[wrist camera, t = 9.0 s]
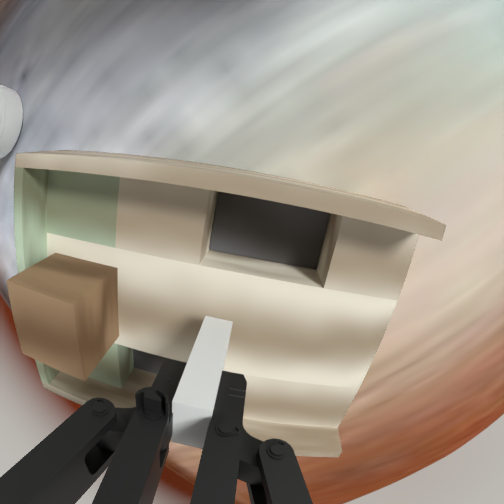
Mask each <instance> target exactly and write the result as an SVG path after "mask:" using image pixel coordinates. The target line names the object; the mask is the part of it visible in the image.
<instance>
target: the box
mask: <svg viewBox="0 0 504 504" xmlns="http://www.w3.org/2000/svg"><path fill="white" fill-rule="evenodd" d="M217 194H218V197H217ZM216 201H217V203H216ZM215 207H216V209H215ZM214 214H215V216H214ZM213 220H214V222H213ZM212 227H213V229H212ZM326 228H327V229H326ZM445 228H446V225H445V224H442V223H440V222H438V221H436V220H434V219H431V218H429V217H427V216H425V215H423V214H420V213H418V212H416V211H413V210H411V209H409V208H406V207H404V206H401V205H397V204H393V203H390V202H386V201H382V200H379V199H375V198H371V197H367V196H363V195H359V194H355V193H351V192H347V191H343V190H339V189H335V188H330V187H326V186H321V185H317V184H312V183H308V182H303V181H298V180H294V179H289V178H284V177H279V176H273V175H268V174H263V173H257V172H252V171H246V170H240V169H234V168H228V167H222V166H216V165H209V164H203V163H196V162H188V161H181V160H173V159H165V158H157V157H148V156H138V155H128V154H117V153H105V152H92V151H76V150H58V151H41V152H27V153H16V160H15V176H14V229H15V246H16V258H17V267H18V273H20V272H22V271H24V270H25V269H27V268H29V267H31V266H32V265H34V264H36V263H38V262H39V261H41V260H43V259H45V258H47V257H48V256H50V255H52V254H54V253H59V254H63V255H67V256H71V257H75V258H79V259H83V260H87V261H91V262H95V263H99V264H103V265H107V266H112V267H116V268H118V320H119V337H118V338H117V340H116V341H115V342H114V344H113V345H112V346H111V347H110V349H109V350H108V351H107V353H106V354H105V355H104V357H103V358H102V359H101V361H100V362H99V363H98V365H97V366H96V367H95V369H94V370H93V371H92V373H91V374H90V375H89V377H88V378H87V380H86V381H83V380H81V379H78V378H76V377H73V376H71V375H68V374H66V373H64V372H61V371H59V370H57V369H54V368H52V367H50V366H48V365H46V364H44V363H41V362H39V361H37V360H35V361H36V364H37V368H38V371H39V375H40V378H41V381H42V384H43V387H44V388H45V389H48V390H49V391H51V392H53V393H55V394H58V395H60V396H62V397H64V398H66V399H69V400H71V401H73V402H75V403H78V404H80V405H84V404H85V403H86V402H87V401H89V400H90V399H92V398H97V397H98V398H105V399H107V400H109V401H111V402H112V403H113V404H114V406H115V407H118V408H133V407H136V399H135V394H136V392H137V391H138V390H140V389H142V388H145V387H151V386H152V384H153V382H154V380H155V379H156V376H157V374H158V372H159V370H160V368H161V366H162V364H163V363H165V362H166V361H167V360H169V359H172V360H176V361H180V362H184V363H187V362H188V359H189V356H190V354H191V351H192V349H193V346H194V344H195V341H196V339H197V336H198V333H199V331H200V328H201V326H202V323H203V321H204V318H205V316H209V317H214V318H219V319H223V320H228V321H233V324H232V329H231V334H230V340H229V345H228V350H227V356H226V361H225V365H224V370H223V371H228V372H233V373H238V374H243V375H244V377H245V379H246V381H247V388H246V396H245V405H244V414H243V427H244V429H245V430H246V432H247V433H248V434H250V435H251V436H253V437H254V438H257V439H259V440H261V441H266V440H268V439H272V438H274V439H281V440H283V441H286V442H287V443H288V444H290V445H291V447H292V448H293V450H294V453H295V456H313V457H339V455H340V454H341V453H342V447H341V442H340V437H339V432H338V426H339V425H340V423H341V421H342V419H343V417H344V416H345V414H346V412H347V410H348V408H349V407H350V405H351V403H352V401H353V399H354V397H355V395H356V393H357V391H358V389H359V387H360V385H361V383H362V381H363V379H364V377H365V375H366V373H367V371H368V369H369V367H370V365H371V363H372V360H373V358H374V356H375V354H376V352H377V349H378V347H379V345H380V343H381V340H382V338H383V336H384V333H385V331H386V328H387V326H388V323H389V321H390V318H391V316H392V313H393V311H394V308H395V306H396V303H397V300H398V298H399V295H400V292H401V289H402V286H403V284H404V281H405V278H406V275H407V272H408V269H409V266H410V263H411V259H412V256H413V253H414V250H415V246H416V243H417V240H418V236H419V235H423V236H427V237H430V238H434V239H438V240H441V241H442V238H443V235H444V231H445ZM211 234H212V236H211ZM210 241H211V243H210ZM209 248H210V249H209ZM316 268H317V269H316Z"/></svg>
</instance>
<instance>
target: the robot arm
mask: <svg viewBox="0 0 504 504" xmlns="http://www.w3.org/2000/svg"><path fill="white" fill-rule="evenodd" d="M232 324H233V321H228V320H223V319H219V318H214V317H209V316H205V318H204V321H203V323H202V326H201V328H200V331H199V333H198V336H197V339H196V341H195V344H194V346H193V349H192V351H191V354H190V356H189V359H188V362H187V363H184V362H180V361H176V360H172V359H169V360H167V361H166V362H165V363H163V364H162V366H161V368H160V370H159V372H158V374H157V376H156V379H155V380H154V382H153V384H152V386H151V387H145V388H142V389H140V390H138V391H137V392H136V394H135V399H136V407H133V408H118V407H115V406H114V404H113V403H112V402H111V401H109V400H107V399H105V398H98V397H97V398H92V399H90V400H89V401H87V402H86V403H85V404H84V405H82V406H81V407H80V408H79V409H78V410H77V411H76V412H75V413H73V414H72V415H71V416H70V417H69V418H68V419H66V420H65V421H64V422H63V423H62V424H61V425H60V426H59V427H58V428H56V429H55V430H54V431H53V432H52V433H51V434H49V435H48V436H47V437H46V438H45V439H44V440H43V441H41V442H40V443H39V444H38V445H37V446H36V447H35V448H34V449H32V450H31V451H30V452H29V453H28V454H27V455H26V456H24V457H23V458H22V459H21V460H20V461H19V462H18V463H16V465H14V466H13V467H12V468H11V469H10V470H8V471H7V472H6V473H5V474H4V475H3V476H2V477H0V504H75V503H76V502H77V501H78V500H79V499H80V498H81V496H82V495H83V494H84V493H85V492H86V491H87V490H88V489H89V488H90V486H91V485H92V484H93V483H94V482H95V481H96V480H97V478H98V477H99V476H100V475H101V474H102V473H103V472H104V471H105V469H106V468H107V467H108V466H109V467H108V469H107V471H106V473H105V476H104V478H103V480H102V482H101V484H100V487H99V489H98V491H97V493H96V496H95V498H94V500H93V503H92V504H152V503H153V499H154V496H155V493H156V489H157V487H158V483H159V480H160V477H161V474H162V471H163V467H164V464H165V461H166V458H167V455H168V452H169V443H170V440H171V441H172V442H176V443H180V444H184V445H188V446H192V447H197V448H201V449H203V451H202V455H201V459H200V464H199V468H198V472H197V477H196V481H195V486H194V490H193V494H192V499H191V503H190V504H234V502H235V494H236V485H237V479H240V480H242V481H244V482H246V483H247V487H248V492H249V497H250V501H251V504H313V503H312V500H311V498H310V495H309V492H308V489H307V487H306V484H305V481H304V478H303V475H302V473H301V470H300V467H299V464H298V461H297V458H296V456H295V453H294V450H293V448H292V447H291V445H290V444H288V443H287V442H286V441H283V440H281V439H274V438H272V439H268V440H266V441H261V440H259V439H257V438H254V437H253V436H251V435H250V434H248V433H247V432H246V430H245V429H244V427H243V414H244V405H245V396H246V388H247V381H246V379H245V377H244V375H243V374H238V373H233V372H228V371H223V370H224V365H225V361H226V356H227V350H228V345H229V340H230V334H231V329H232Z"/></svg>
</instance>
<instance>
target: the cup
mask: <svg viewBox="0 0 504 504" xmlns="http://www.w3.org/2000/svg"><path fill="white" fill-rule="evenodd" d="M22 121H23V108H22V102H21V99H20V96H19V95H18V93H17V92H16V91H15V90H13V89H11V88H8V87H6V86H3V85H1V84H0V159H1V158H3V157H5V156H6V155H7V154H8V153H9V152H10V151H11V150H12V148H13V147H14V145H15V143H16V141H17V139H18V137H19V134H20V131H21V127H22Z"/></svg>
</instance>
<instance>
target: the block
mask: <svg viewBox="0 0 504 504" xmlns="http://www.w3.org/2000/svg"><path fill="white" fill-rule="evenodd" d="M7 286H8V292H9V297H10V303H11V308H12V313H13V318H14V322H15V326H16V331H17V334H18V339H19V342H20V346H21V350H22V353H23V354H25V355H27V356H29V357H31V358H33V359H35V360H37V361H39V362H41V363H44V364H46V365H48V366H50V367H52V368H54V369H57V370H59V371H61V372H64V373H66V374H68V375H71V376H73V377H76V378H78V379H81V380H83V381H86V380H87V378H88V377H89V375H90V374H91V373H92V371H93V370H94V369H95V367H96V366H97V365H98V363H99V362H100V361H101V359H102V358H103V357H104V355H105V354H106V353H107V351H108V350H109V349H110V347H111V346H112V345H113V344H114V342H115V341H116V340H117V338H118V337H119V320H118V268H116V267H112V266H107V265H103V264H99V263H95V262H91V261H87V260H83V259H79V258H75V257H71V256H67V255H63V254H59V253H54V254H52V255H50V256H48V257H47V258H45V259H43V260H41V261H39V262H38V263H36V264H34V265H32V266H31V267H29V268H27V269H25V270H24V271H22V272H20V273H18V274H17V275H15V276H13V277H12V278H10V279H8V280H7Z"/></svg>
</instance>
